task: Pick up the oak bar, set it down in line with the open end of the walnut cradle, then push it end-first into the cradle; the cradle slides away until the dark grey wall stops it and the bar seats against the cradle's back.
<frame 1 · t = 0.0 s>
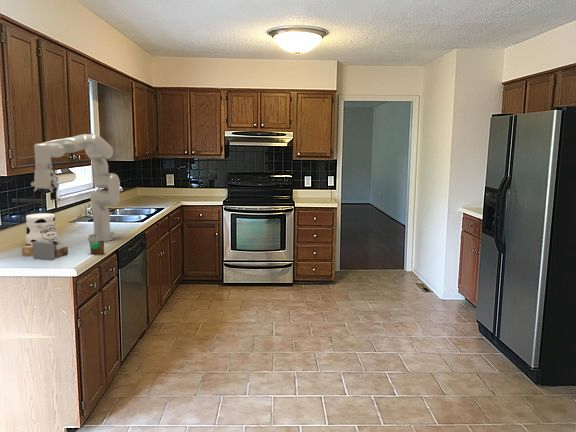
hand: (45, 199, 254), 31 cm above the counter, tool pointing down, fingers open, 9 cm apart
milk container: (42, 244, 286), on the counter
oak bar: (32, 254, 263), on the counter
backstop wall: (44, 258, 252), on the counter
food container: (95, 253, 266), on the counter
cradle: (55, 251, 260), point 2 cm above the counter, slide at 0.0 cm
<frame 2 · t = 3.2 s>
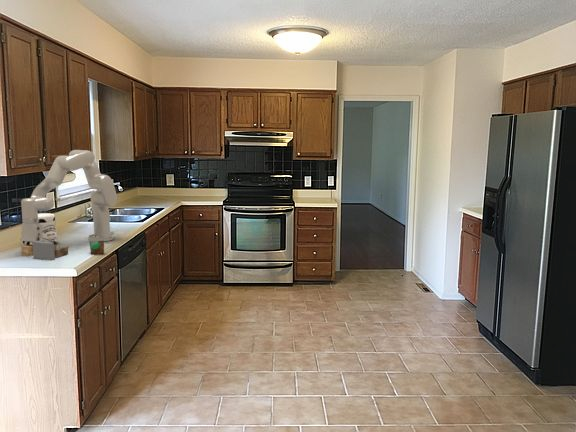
hand: (32, 253, 262), 1 cm above the counter, tool pointing down, fingers closed on oak bar, 4 cm apart
oak bar: (32, 254, 262), on the counter, touching gripper
everything else where it was.
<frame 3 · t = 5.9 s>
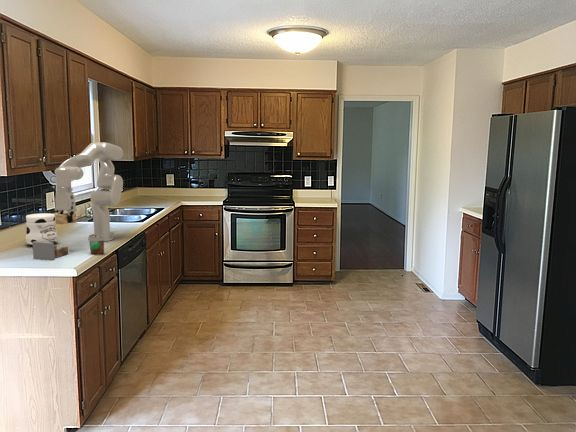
hand: (66, 221, 267), 17 cm above the counter, tool pointing down, fingers closed on oak bar, 4 cm apart
oak bar: (66, 222, 267), point 17 cm above the counter, touching gripper
everything else where it was.
when the fingers open (2 cm above the counter, at t = 8.8 s): oak bar drops 2 cm, on the counter.
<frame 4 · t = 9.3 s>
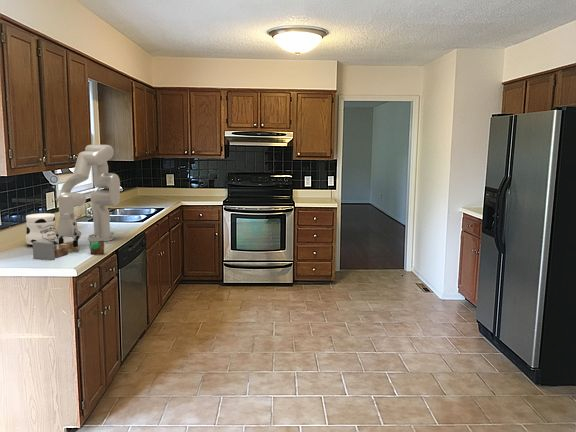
hand: (68, 246, 269), 3 cm above the counter, tool pointing down, fingers open, 9 cm apart
oak bar: (68, 251, 270), on the counter
everything else where it was.
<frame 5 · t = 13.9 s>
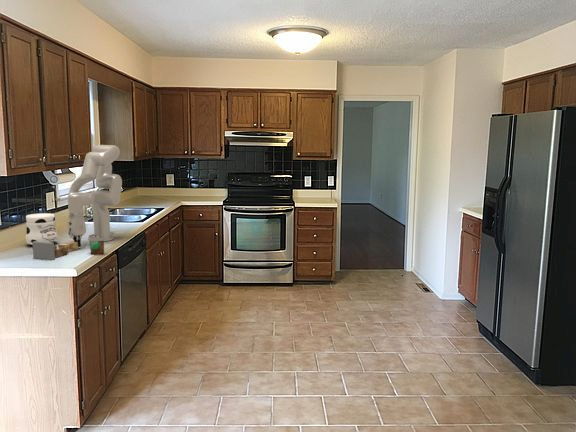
hand: (77, 246, 276), 1 cm above the counter, tool pointing down, fingers closed
oak bar: (68, 251, 270), on the counter, touching gripper
everything else where it was.
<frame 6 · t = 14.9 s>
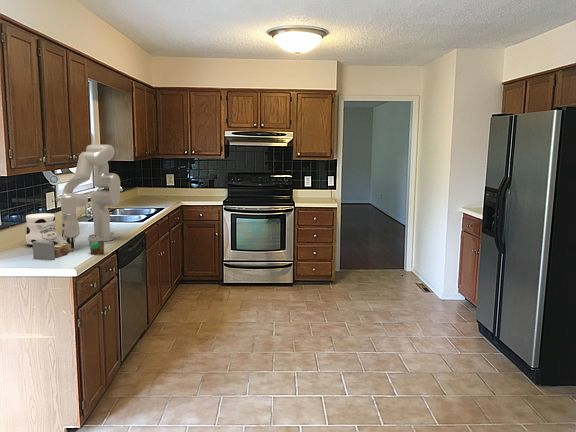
hand: (70, 248, 271), 1 cm above the counter, tool pointing down, fingers closed
oak bar: (61, 253, 264), on the counter, touching gripper
everything else where it was.
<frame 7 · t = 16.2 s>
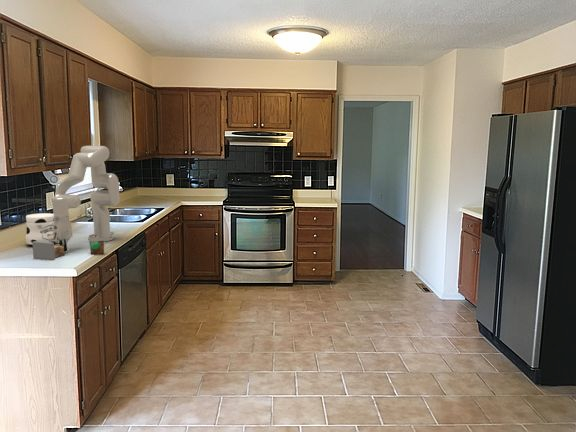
hand: (63, 251, 266), 1 cm above the counter, tool pointing down, fingers closed
oak bar: (54, 256, 259), on the counter, touching cradle, gripper
cradle: (51, 252, 257), point 2 cm above the counter, slide at 3.0 cm, touching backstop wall, oak bar
everything else where it was.
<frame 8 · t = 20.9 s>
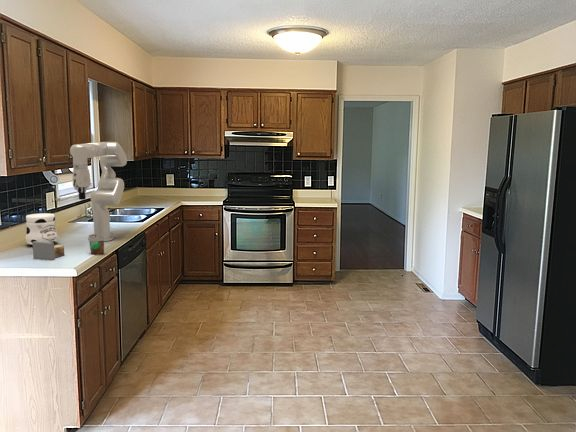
hand: (82, 199, 272), 29 cm above the counter, tool pointing down, fingers closed
oak bar: (54, 256, 259), on the counter
cradle: (51, 252, 257), point 2 cm above the counter, slide at 3.0 cm, touching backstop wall
everything else where it was.
at the end: cradle slide at 3.0 cm; oak bar 0.4 cm off-centre on the cradle, point 0.0 cm above the cradle's base; oak bar tilted 0° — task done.
